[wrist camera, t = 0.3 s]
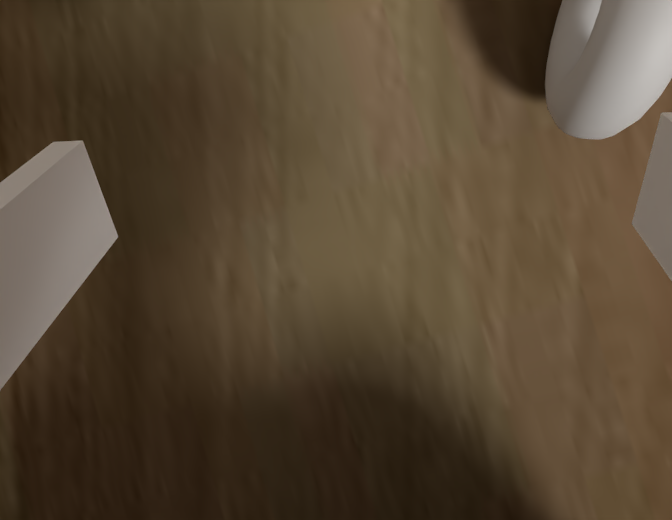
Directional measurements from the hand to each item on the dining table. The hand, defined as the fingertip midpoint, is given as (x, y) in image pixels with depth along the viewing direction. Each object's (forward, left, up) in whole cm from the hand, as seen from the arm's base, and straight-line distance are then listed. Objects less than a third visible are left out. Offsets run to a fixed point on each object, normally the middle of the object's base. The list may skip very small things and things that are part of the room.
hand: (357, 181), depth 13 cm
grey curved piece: (+7, -11, -17) cm, 21 cm away
